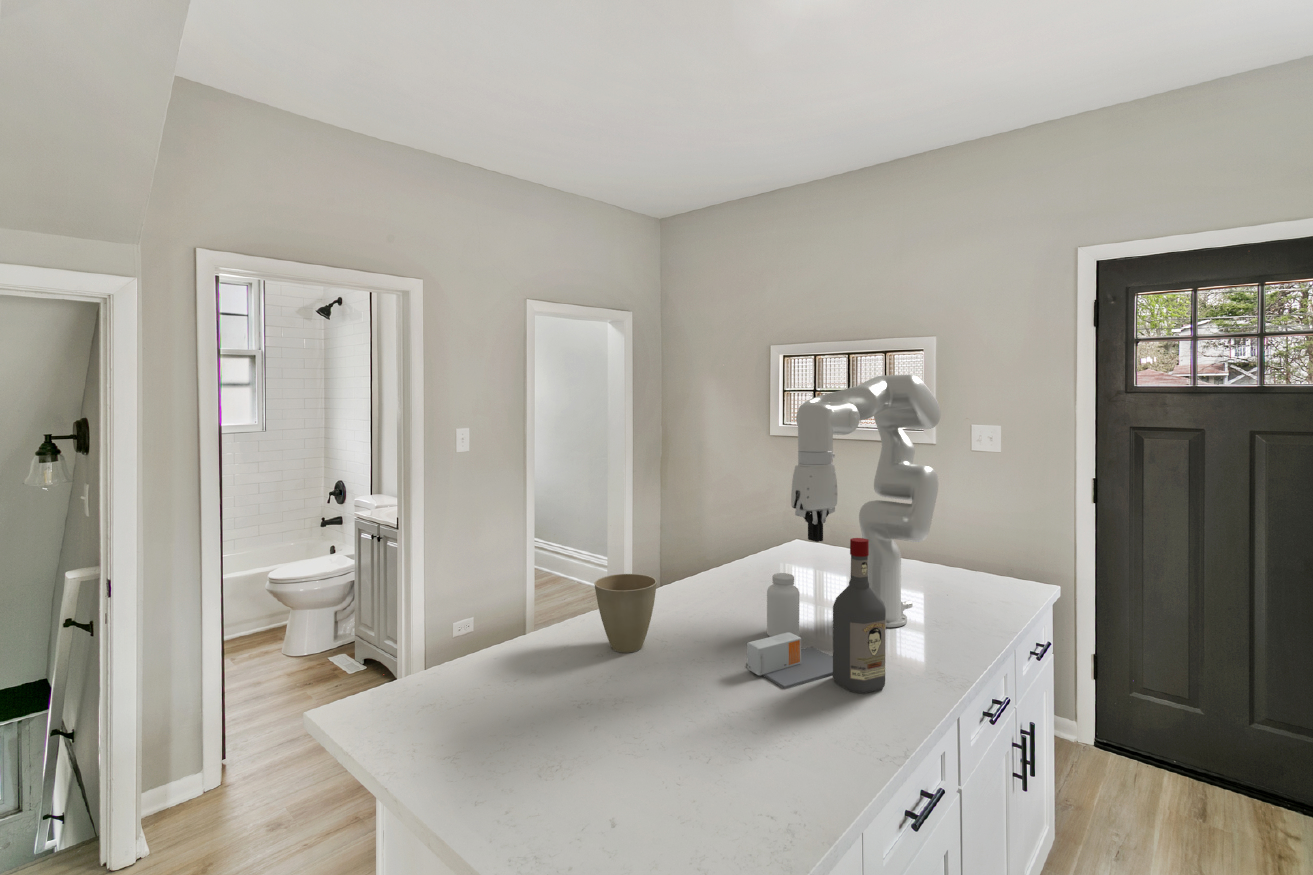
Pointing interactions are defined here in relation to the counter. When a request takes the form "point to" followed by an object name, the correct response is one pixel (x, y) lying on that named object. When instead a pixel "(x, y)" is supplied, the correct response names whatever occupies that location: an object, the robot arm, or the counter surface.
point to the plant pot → (626, 609)
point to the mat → (804, 669)
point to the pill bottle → (782, 605)
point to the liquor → (859, 629)
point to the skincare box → (773, 653)
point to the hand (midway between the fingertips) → (815, 540)
